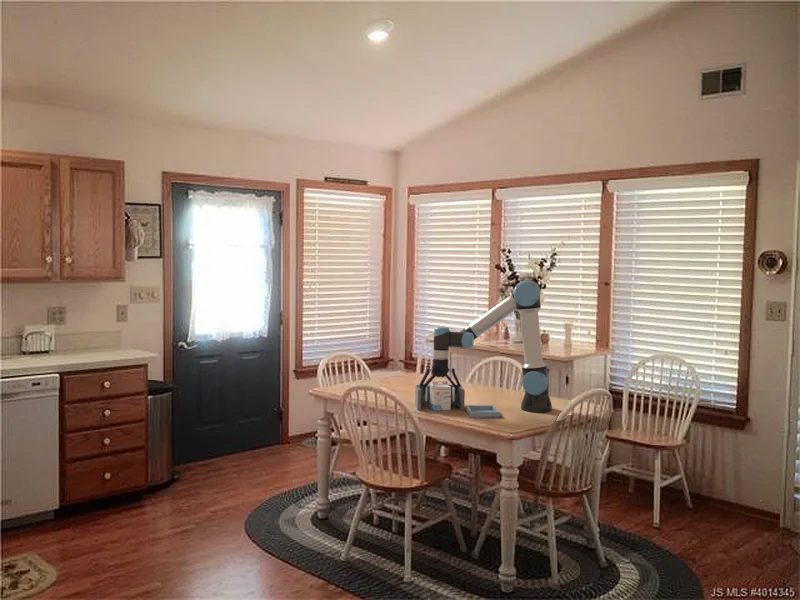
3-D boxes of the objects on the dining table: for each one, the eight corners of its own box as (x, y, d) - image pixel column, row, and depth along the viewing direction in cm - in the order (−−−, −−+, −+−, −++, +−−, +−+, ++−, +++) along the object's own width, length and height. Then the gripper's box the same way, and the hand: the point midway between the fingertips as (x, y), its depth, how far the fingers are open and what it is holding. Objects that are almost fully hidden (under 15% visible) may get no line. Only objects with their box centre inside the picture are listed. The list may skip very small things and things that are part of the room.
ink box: (434, 410, 347) (434, 383, 346) (429, 407, 355) (429, 380, 354) (451, 410, 350) (451, 383, 349) (445, 406, 358) (445, 380, 357)
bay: (460, 404, 362) (460, 383, 361) (464, 410, 349) (464, 388, 348) (415, 404, 360) (415, 383, 360) (417, 410, 348) (417, 388, 347)
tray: (493, 410, 350) (493, 405, 350) (500, 417, 335) (500, 412, 335) (465, 410, 349) (465, 405, 349) (470, 417, 334) (470, 412, 334)
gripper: (464, 357, 355) (463, 399, 357) (414, 356, 353) (413, 398, 355) (467, 359, 348) (465, 402, 349) (416, 359, 346) (415, 402, 348)
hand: (439, 400), depth 352 cm, fingers open, 13 cm apart
